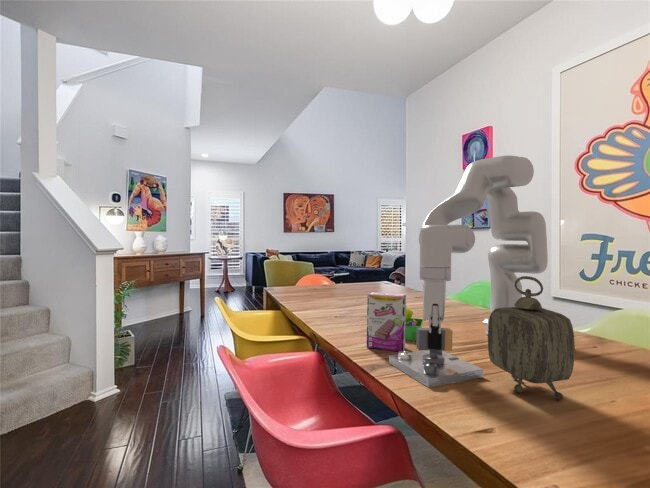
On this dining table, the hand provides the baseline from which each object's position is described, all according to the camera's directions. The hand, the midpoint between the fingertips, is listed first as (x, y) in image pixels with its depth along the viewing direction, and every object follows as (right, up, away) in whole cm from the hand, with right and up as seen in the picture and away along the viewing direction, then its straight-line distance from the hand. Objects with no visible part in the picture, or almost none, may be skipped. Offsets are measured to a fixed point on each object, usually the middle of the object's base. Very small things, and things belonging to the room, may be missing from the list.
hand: (434, 345), depth 84 cm
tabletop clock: (+16, -7, -11) cm, 21 cm away
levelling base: (0, -6, 0) cm, 6 cm away
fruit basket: (+1, -6, +30) cm, 30 cm away
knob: (0, -4, 0) cm, 4 cm away
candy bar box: (-9, -6, +17) cm, 20 cm away
